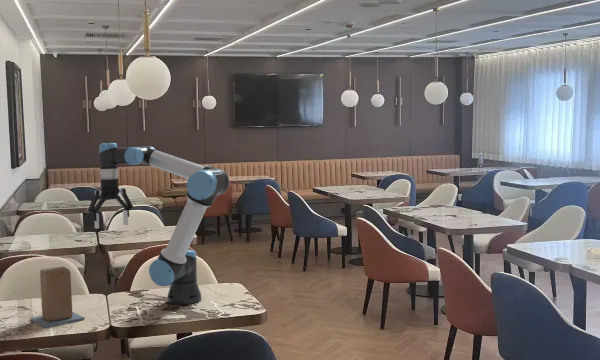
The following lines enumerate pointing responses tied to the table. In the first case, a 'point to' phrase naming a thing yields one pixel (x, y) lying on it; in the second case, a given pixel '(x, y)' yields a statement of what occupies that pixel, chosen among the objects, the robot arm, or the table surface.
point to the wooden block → (56, 293)
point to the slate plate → (47, 324)
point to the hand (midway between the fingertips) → (111, 226)
